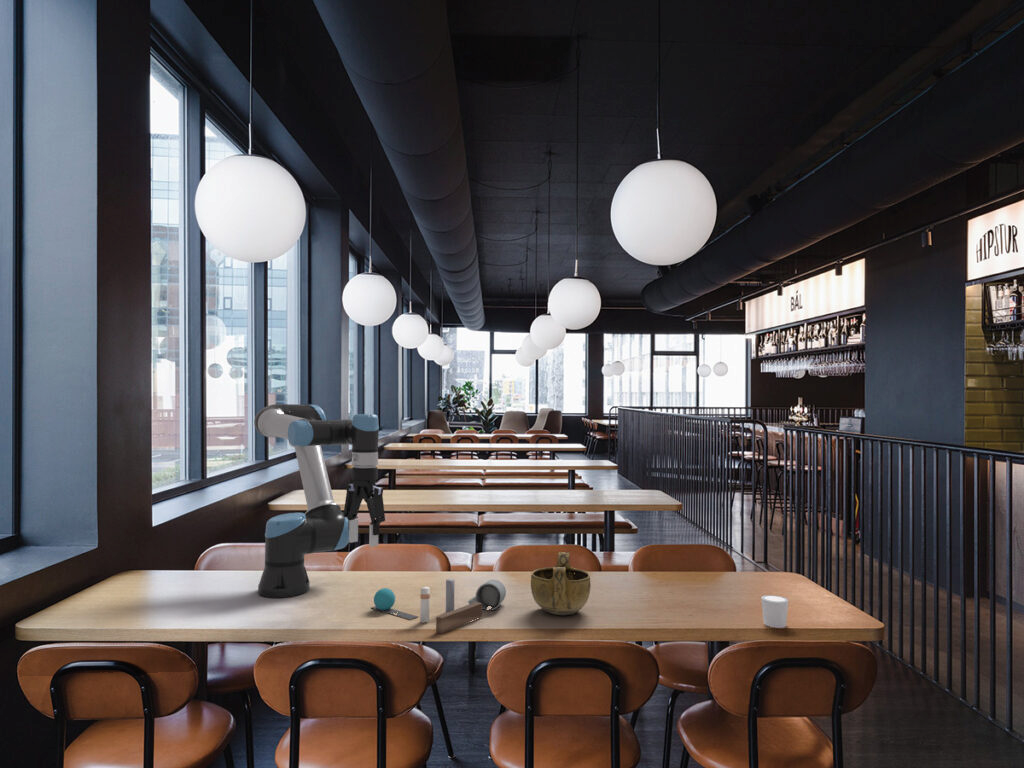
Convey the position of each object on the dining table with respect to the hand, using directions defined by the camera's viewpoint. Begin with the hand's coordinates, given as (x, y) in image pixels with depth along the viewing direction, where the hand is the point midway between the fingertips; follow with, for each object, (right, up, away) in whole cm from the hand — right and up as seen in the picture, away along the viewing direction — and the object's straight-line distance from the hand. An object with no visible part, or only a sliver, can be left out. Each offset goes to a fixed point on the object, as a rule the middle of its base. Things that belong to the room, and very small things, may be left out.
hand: (363, 543), depth 191 cm
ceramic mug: (+36, -18, -2) cm, 41 cm away
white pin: (+20, -17, -16) cm, 31 cm away
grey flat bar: (+11, -17, -9) cm, 22 cm away
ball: (+7, -14, -6) cm, 17 cm away
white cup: (+115, -18, -15) cm, 117 cm away
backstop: (+30, -17, -18) cm, 39 cm away
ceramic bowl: (+57, -18, -6) cm, 61 cm away
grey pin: (+26, -17, -8) cm, 32 cm away
